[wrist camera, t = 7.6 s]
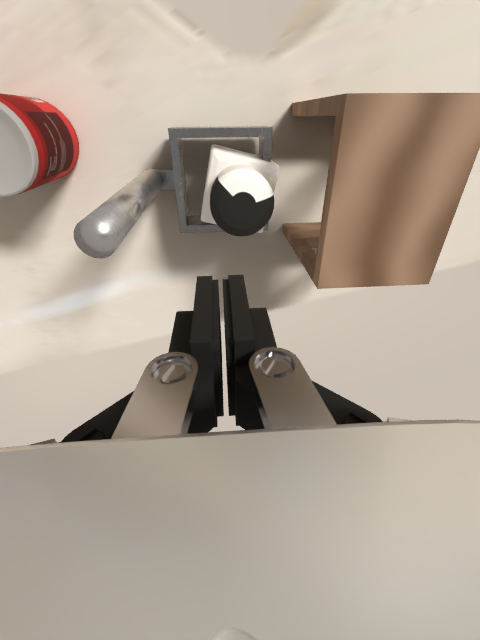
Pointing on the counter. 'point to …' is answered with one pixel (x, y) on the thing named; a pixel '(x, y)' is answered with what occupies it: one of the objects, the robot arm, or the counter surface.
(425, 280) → the walnut tunnel
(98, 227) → the grey metal post stand
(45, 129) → the canned food
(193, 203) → the counter surface
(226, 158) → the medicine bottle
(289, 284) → the counter surface
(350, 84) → the counter surface
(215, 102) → the counter surface
